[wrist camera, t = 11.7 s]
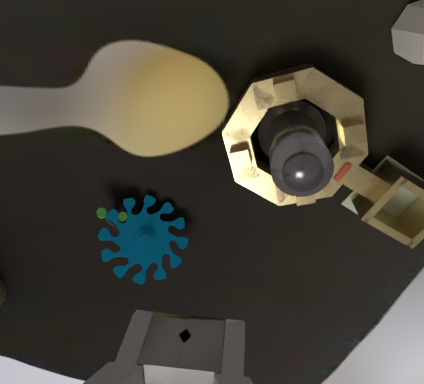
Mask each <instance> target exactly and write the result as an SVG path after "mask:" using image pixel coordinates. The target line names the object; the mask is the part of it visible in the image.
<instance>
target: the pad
mask: <svg viewBox="0 0 424 384" xmlns="http://www.w3.org/2000/svg"><path fill="white" fill-rule="evenodd" d="M386 159H388V160H390V161H391V162H393V163H395V164H396V165H398V166H400V167H401V168H403V169H405V170H406V171H408V172H409V173H411V174H413V175H414V176H416V177H418V178H419V179H421V180H423V179H422V178H420V177H419V176H417V175H416V174H415V173H413V172H412V171H410V170H409V169H407V168H406V167H404V166H403V165H401V164H400V163H398V162H397V161H395V160H394V159H393V158H391V157H390V156H388V155H387V156H386V157H385V158H384V159H383V160H382V161H381V162H380V163H379V164H378V165H377V166H376V167H375V168H374V169H373V170H375V171H376V170H377V169H378V168H379V166H380V165H381V164H382V163H383V162H384V161H385V160H386ZM423 181H424V180H423ZM355 193H356V192H355V191H354V190H353V191H352V192H351V193H350V194H349V195H348V196H347V197H346V198H345V199H344V200H343V201H342V202H341V204H342V205H344V206H345V207H347V208H348V209H350V210H352V211H353V212H355V213H356V214H358V213H357V211H356V209H355V207H354V205H353V203H352V201H351V198H352V197H353V195H354V194H355ZM417 198H418V196H416V195H415V194H413V193H411V192H410V191H408V190H406V189H405V188H403V187H401V188H400V189H399V190H398V192H397V193H396V194H395V195H394V196H393V197H392V198H391V199H390V200H389V201H388V202H387V203H386V204H385V205H384V206H383V207H382V209H383V210H385V211H387V212H389V213H390V214H392V215H394V216H395V217H397V218H398V217H399V216H400V215H401V214H402V213H403V212H404V211H405V210H406V209H407V208H408V207H409V206H410V205H411V204H412V203H413V202H414V201H415V200H416V199H417Z"/></svg>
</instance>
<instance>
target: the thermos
mask: <svg viewBox="0 0 424 384" xmlns="http://www.w3.org/2000/svg"><path fill="white" fill-rule="evenodd" d="M6 298H7V289H6V286H5V283H4V282H3V281H2V279H1V278H0V306H1V305H2V304H3V303H4V301H5V300H6Z"/></svg>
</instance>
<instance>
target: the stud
mask: <svg viewBox="0 0 424 384" xmlns="http://www.w3.org/2000/svg"><path fill="white" fill-rule="evenodd" d="M258 137H259V143H260V146H261V148H262V150H263V151H264V153H265V154H266V155H267V156H268V157H269V159H270V169H271V176H272V180H273V182H274V184H275V185H276V186H277V188H278V189H279V190H281V191H282V192H284V193H285V194H288V195H290V196H295V197H306V196H310V195H313V194H315V193H317V192H319V191H321V190H322V189H323V188H324V187H325V186H327V184H328V183H329V182H330V180H331V178H332V176H333V172H334V162H333V158H332V156H331V154H330V152H329V150H328V148H327V146H326V144H325V142H324V141H325V137H326V124H325V121H324V118H323V116H322V115H321V113H320V112H319V111H318V110H317V108H315V107H314V106H313V105H311V104H309V103H307V102H304V101H299V100H298V101H294V102H290V103H286V104H282V105H278V106H274V107H272V108H271V109H270V110H269V111H268V112H267V113H266V114H265V115H264V117H263V119H262V121H261V123H260V126H259V131H258Z"/></svg>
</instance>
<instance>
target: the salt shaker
mask: <svg viewBox="0 0 424 384" xmlns="http://www.w3.org/2000/svg"><path fill="white" fill-rule="evenodd" d="M391 30H392V39H393V48H394V53H396V54H397V55H399V56H401V57H403V58H404V59H406V60H408V61H410V62H411V63H414V64H422V65H424V0H419V1H416V2H414V3H411V4H408V5H407V6H406V8H405V9H404V11H403V12H402V14H401V15H400V17H399V18H398V20H397V21H396V23H395V24H394V25H393V27H392V28H391Z"/></svg>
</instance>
